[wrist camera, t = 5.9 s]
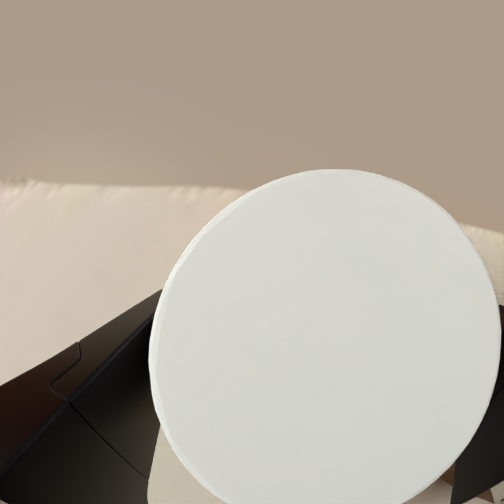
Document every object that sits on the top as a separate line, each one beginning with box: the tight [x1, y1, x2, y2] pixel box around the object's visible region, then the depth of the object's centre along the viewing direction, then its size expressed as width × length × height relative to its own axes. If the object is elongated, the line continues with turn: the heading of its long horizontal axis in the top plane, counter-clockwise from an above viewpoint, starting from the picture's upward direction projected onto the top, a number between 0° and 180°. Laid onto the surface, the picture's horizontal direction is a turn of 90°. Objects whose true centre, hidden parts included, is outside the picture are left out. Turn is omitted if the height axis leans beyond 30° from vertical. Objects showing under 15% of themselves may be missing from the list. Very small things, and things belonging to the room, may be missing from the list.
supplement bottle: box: [148, 169, 501, 504], centre depth 9 cm, size 7×7×13 cm
